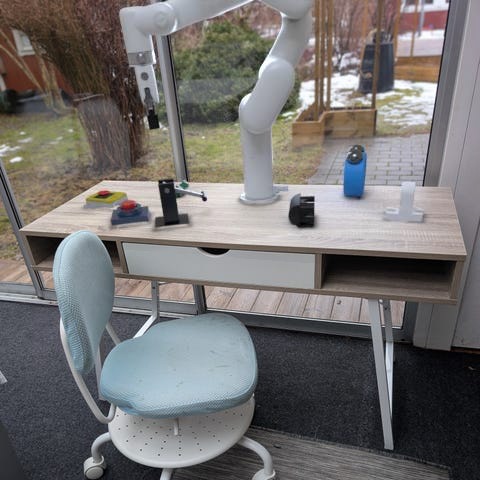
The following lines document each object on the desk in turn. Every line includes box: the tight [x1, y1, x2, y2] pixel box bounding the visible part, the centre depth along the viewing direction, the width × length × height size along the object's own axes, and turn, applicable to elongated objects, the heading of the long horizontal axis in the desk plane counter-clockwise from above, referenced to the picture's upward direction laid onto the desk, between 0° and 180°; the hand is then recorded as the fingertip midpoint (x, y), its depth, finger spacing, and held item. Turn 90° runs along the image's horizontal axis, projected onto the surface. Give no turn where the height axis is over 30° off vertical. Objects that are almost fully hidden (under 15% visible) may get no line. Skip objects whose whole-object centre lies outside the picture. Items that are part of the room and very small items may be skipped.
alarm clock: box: [342, 143, 368, 200], centre depth 148 cm, size 13×6×15 cm, turn 164°
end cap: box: [288, 192, 316, 229], centre depth 135 cm, size 10×7×7 cm
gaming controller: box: [175, 179, 190, 197], centre depth 164 cm, size 9×4×6 cm
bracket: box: [154, 177, 190, 228], centre depth 139 cm, size 10×8×13 cm
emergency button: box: [83, 189, 129, 210], centre depth 160 cm, size 9×4×15 cm
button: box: [121, 199, 137, 210], centre depth 144 cm, size 4×4×2 cm
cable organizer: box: [384, 181, 425, 223], centre depth 131 cm, size 5×10×10 cm, turn 70°
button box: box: [110, 202, 150, 226], centre depth 146 cm, size 11×9×4 cm
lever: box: [163, 182, 208, 203], centre depth 138 cm, size 13×6×2 cm, turn 98°
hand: (154, 128), depth 142 cm, fingers closed
